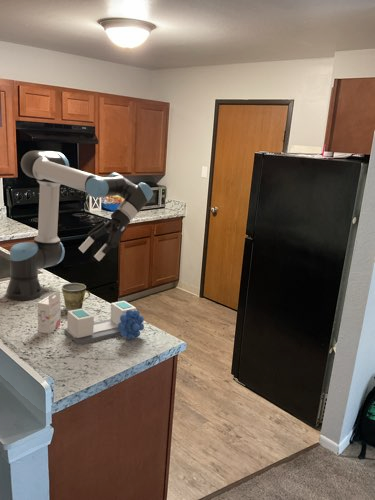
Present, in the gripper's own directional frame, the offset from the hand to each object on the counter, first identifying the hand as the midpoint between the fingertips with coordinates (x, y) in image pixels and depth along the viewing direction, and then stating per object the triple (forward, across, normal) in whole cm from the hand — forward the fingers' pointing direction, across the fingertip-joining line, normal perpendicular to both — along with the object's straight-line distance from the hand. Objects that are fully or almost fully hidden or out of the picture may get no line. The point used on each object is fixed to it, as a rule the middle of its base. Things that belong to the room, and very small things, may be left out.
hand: (88, 254), depth 163 cm
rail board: (+19, -12, -20) cm, 30 cm away
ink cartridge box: (+31, 0, -9) cm, 32 cm away
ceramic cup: (+19, +13, -21) cm, 31 cm away
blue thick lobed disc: (+15, -24, -24) cm, 37 cm away
